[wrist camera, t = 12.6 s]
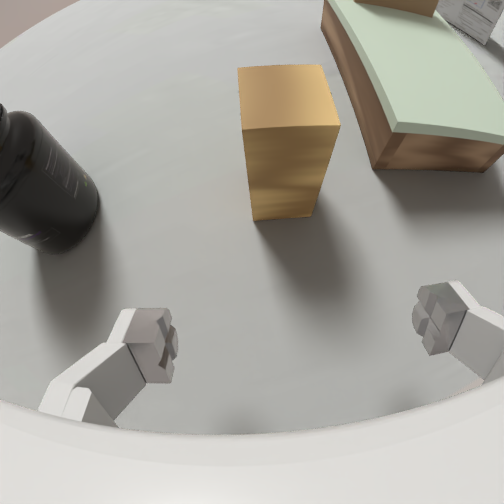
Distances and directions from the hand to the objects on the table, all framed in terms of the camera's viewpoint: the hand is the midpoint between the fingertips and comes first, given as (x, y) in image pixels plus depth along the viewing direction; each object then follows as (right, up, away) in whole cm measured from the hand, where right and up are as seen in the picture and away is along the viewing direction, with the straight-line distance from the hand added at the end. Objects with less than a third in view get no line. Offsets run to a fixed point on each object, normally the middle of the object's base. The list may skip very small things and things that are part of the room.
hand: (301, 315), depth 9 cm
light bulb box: (+29, +36, +17) cm, 49 cm away
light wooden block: (0, +6, +10) cm, 12 cm away
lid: (+11, +18, +8) cm, 23 cm away
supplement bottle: (-16, +5, +11) cm, 20 cm away
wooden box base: (+12, +17, +13) cm, 24 cm away
